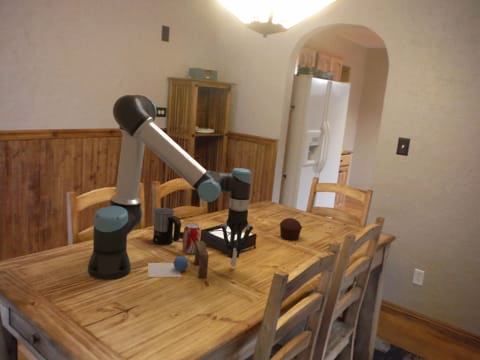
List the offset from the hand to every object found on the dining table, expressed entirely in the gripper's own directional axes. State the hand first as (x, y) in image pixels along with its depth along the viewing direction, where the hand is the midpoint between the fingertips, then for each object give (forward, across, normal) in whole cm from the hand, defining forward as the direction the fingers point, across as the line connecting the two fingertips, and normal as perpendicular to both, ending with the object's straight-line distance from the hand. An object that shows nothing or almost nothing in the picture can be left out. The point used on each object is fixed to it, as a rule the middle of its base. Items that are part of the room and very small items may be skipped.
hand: (233, 265), depth 159 cm
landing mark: (+2, -27, 0) cm, 27 cm away
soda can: (+2, -15, +18) cm, 24 cm away
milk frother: (+2, -23, +31) cm, 39 cm away
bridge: (+2, -13, 0) cm, 13 cm away
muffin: (+2, +37, +36) cm, 52 cm away
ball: (-1, -21, 0) cm, 21 cm away
